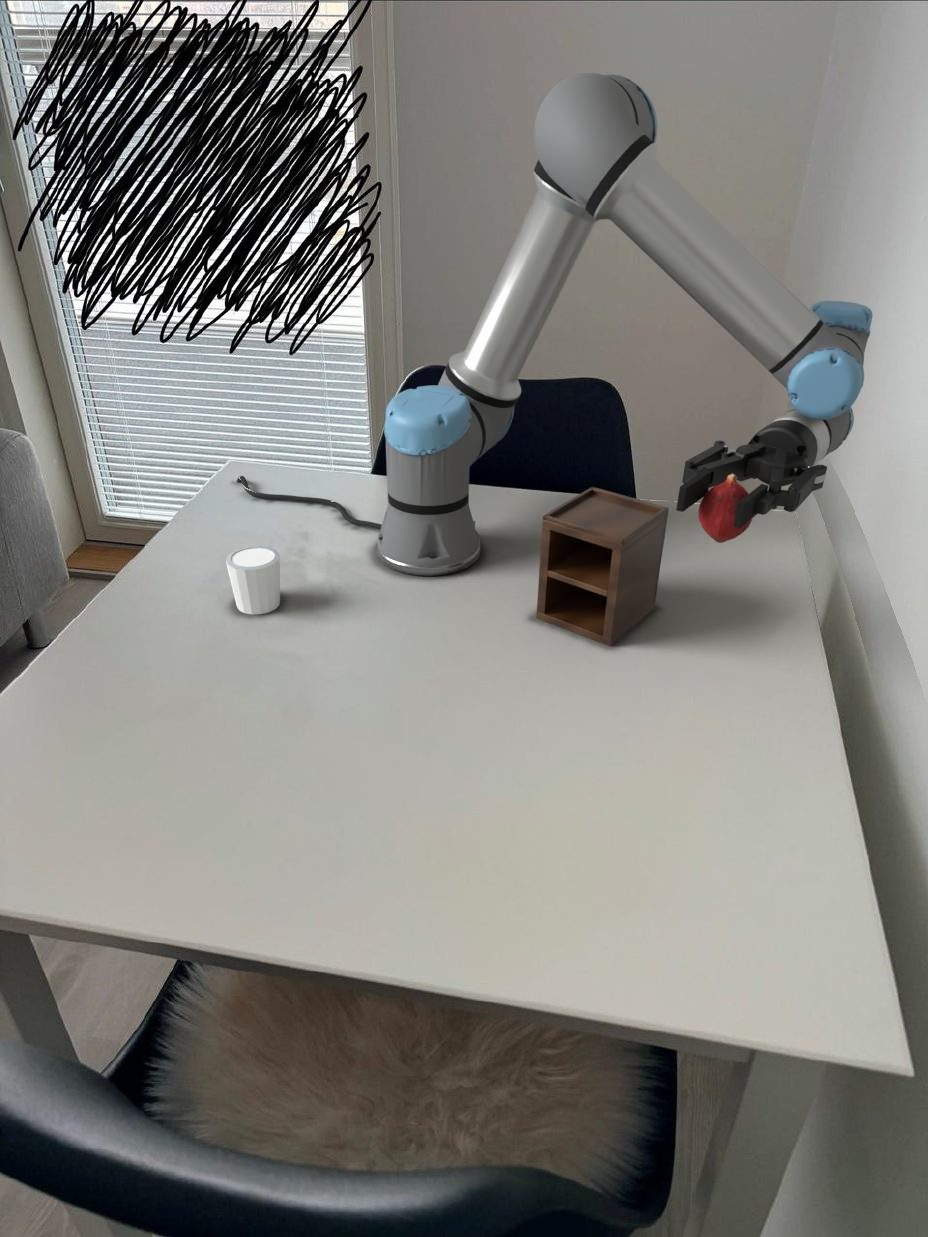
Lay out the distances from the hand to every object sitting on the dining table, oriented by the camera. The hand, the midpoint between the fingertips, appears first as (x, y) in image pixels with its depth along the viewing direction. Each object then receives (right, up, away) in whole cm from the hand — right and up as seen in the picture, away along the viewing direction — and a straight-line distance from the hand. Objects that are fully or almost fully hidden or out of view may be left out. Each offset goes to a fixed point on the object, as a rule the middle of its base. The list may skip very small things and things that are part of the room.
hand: (709, 507), depth 92 cm
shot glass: (-53, -10, +25) cm, 60 cm away
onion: (+3, -3, +7) cm, 8 cm away
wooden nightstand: (-8, -11, +24) cm, 28 cm away
